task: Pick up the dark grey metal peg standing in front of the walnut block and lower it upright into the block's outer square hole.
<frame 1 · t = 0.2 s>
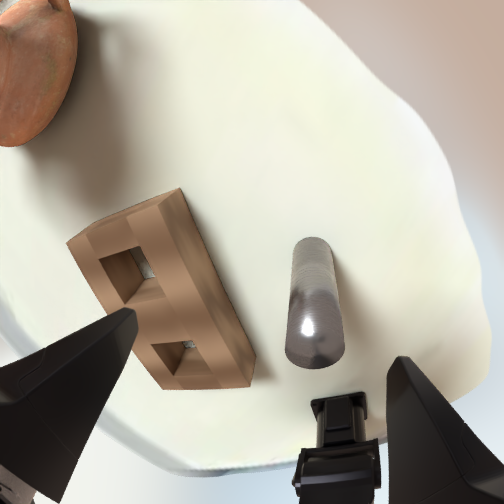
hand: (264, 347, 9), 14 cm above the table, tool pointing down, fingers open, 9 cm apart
ceramic jug: (43, 63, 18), on the table
hole block: (174, 295, 27), on the table
peg: (312, 254, 23), on the table
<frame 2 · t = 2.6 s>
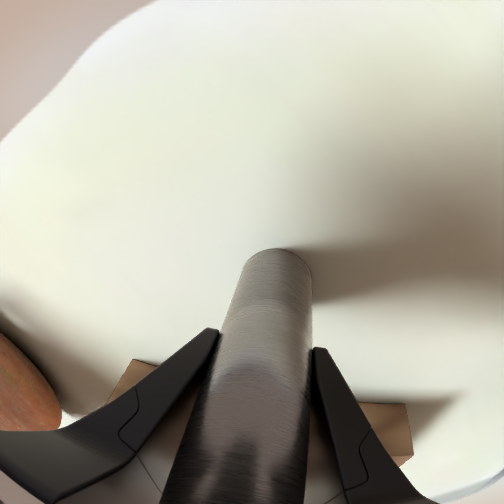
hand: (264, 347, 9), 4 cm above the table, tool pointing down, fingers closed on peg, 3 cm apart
ceramic jug: (20, 359, 23), on the table
hole block: (260, 429, 19), on the table
peg: (276, 280, 13), on the table, touching gripper
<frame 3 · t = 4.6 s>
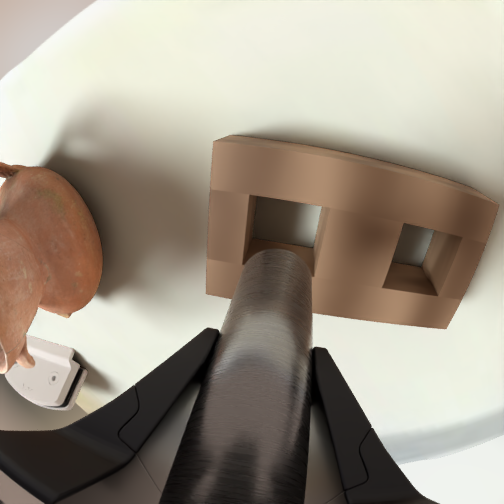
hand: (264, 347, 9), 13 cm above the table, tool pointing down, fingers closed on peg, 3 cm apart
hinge: (52, 355, 37), on the table
ceramic jug: (59, 223, 25), on the table
hole block: (349, 225, 20), on the table
peg: (276, 280, 13), point 9 cm above the table, touching gripper
when the fingers open (5 cm above the table, at t = 6.6 s): peg drops 1 cm, resting in hole block.
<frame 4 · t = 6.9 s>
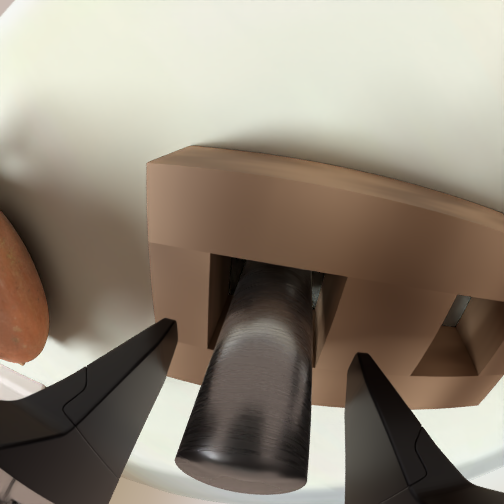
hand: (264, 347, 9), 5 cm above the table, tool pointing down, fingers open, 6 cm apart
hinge: (26, 386, 30), on the table
ceramic jug: (5, 256, 18), on the table
hole block: (369, 279, 14), on the table
peg: (279, 263, 14), resting in hole block
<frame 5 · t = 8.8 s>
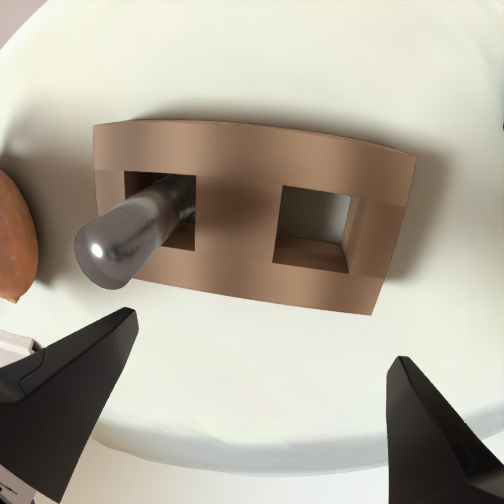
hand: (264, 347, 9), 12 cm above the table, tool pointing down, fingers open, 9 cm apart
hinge: (20, 349, 36), on the table
ceramic jug: (9, 217, 24), on the table
hole block: (246, 199, 20), on the table
peg: (182, 191, 20), resting in hole block
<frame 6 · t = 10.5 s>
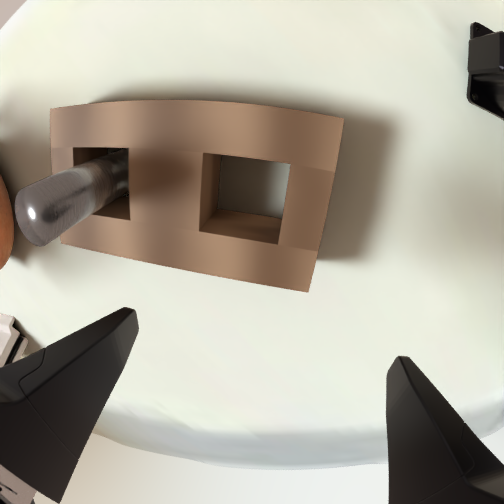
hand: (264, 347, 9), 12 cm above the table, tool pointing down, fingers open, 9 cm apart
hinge: (4, 328, 36), on the table
hole block: (187, 173, 19), on the table
peg: (131, 167, 20), resting in hole block
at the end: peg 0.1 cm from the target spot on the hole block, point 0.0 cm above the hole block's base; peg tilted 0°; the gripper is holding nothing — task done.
